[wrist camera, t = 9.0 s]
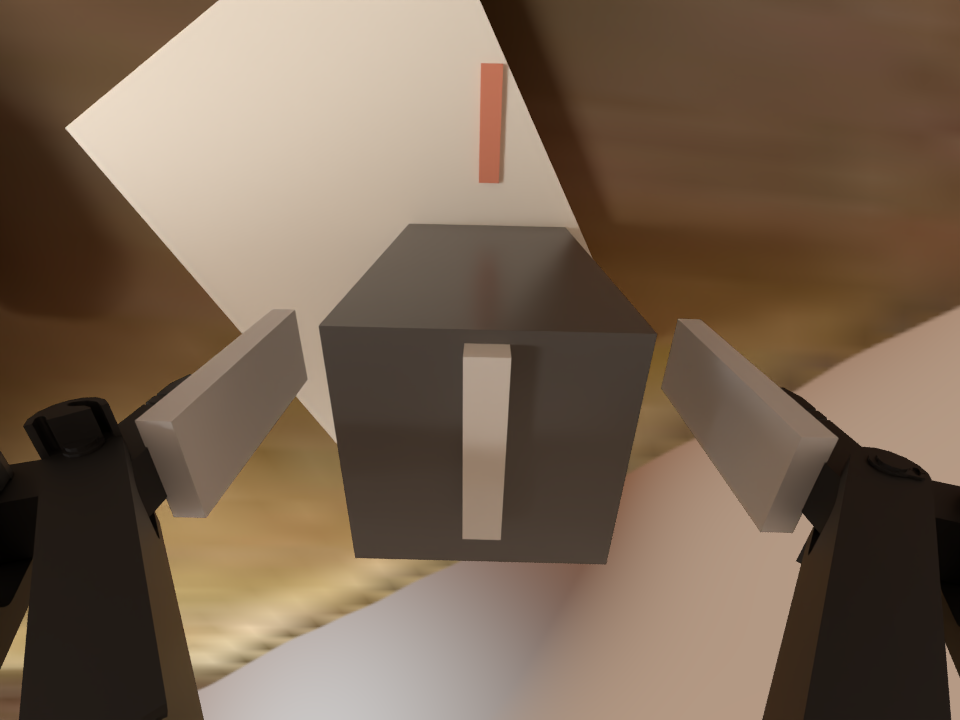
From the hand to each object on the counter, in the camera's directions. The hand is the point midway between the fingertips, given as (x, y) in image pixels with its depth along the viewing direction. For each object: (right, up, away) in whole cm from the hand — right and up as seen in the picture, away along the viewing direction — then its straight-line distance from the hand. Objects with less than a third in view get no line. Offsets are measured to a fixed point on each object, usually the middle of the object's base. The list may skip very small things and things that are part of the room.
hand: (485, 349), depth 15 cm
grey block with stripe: (0, +2, +5) cm, 5 cm away
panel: (-4, +5, +6) cm, 9 cm away
